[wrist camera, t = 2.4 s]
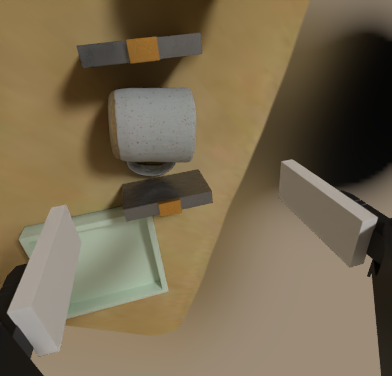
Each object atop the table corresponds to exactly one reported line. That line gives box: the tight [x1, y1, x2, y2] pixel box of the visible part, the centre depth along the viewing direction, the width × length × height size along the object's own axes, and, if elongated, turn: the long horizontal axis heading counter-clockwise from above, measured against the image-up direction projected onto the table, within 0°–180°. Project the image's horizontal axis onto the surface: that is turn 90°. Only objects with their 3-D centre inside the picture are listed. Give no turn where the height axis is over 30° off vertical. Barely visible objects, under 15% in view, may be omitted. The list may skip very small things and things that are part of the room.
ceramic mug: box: [108, 88, 196, 176], centre depth 28 cm, size 11×8×8 cm
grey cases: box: [77, 33, 213, 222], centre depth 28 cm, size 10×17×6 cm, turn 5°
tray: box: [19, 206, 168, 319], centre depth 37 cm, size 16×16×2 cm
